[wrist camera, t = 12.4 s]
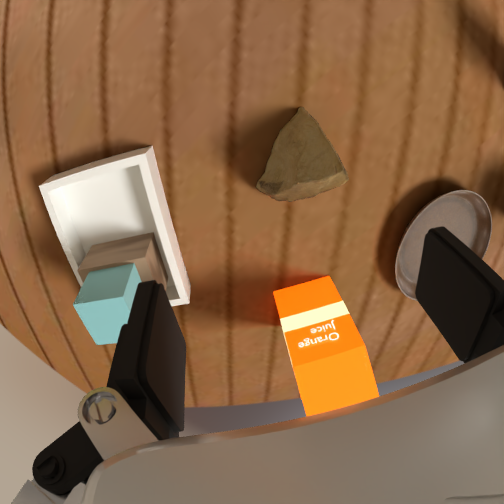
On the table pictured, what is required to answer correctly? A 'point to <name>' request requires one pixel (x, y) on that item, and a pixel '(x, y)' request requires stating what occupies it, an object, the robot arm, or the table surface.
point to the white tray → (115, 211)
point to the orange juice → (324, 347)
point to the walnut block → (127, 257)
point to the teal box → (107, 301)
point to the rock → (301, 162)
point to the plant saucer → (451, 217)
